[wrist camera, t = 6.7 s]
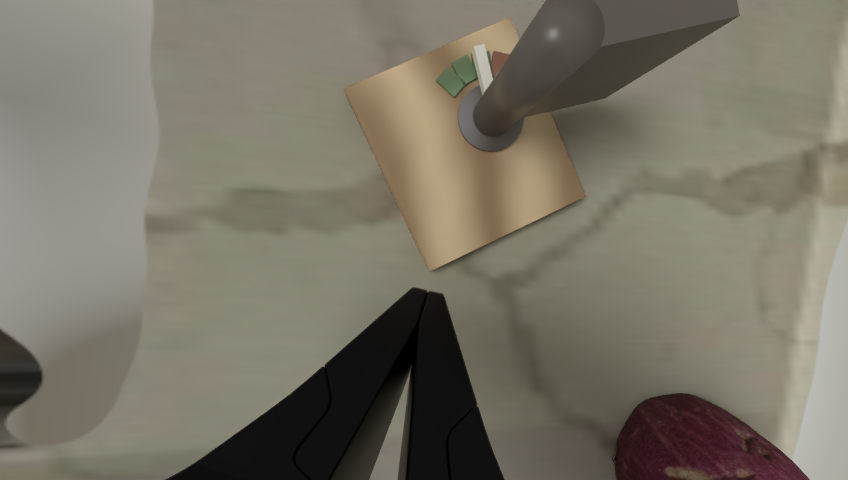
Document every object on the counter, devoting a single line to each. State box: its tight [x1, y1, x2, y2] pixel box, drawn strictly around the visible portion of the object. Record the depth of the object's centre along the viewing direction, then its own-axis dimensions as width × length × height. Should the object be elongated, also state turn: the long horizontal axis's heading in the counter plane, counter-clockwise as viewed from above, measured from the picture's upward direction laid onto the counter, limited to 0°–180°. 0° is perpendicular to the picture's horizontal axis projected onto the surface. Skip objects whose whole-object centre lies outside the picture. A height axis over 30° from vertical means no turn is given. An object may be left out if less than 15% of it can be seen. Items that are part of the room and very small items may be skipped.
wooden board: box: [344, 17, 586, 271], centre depth 22 cm, size 12×13×2 cm
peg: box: [472, 0, 740, 136], centre depth 17 cm, size 6×8×10 cm
